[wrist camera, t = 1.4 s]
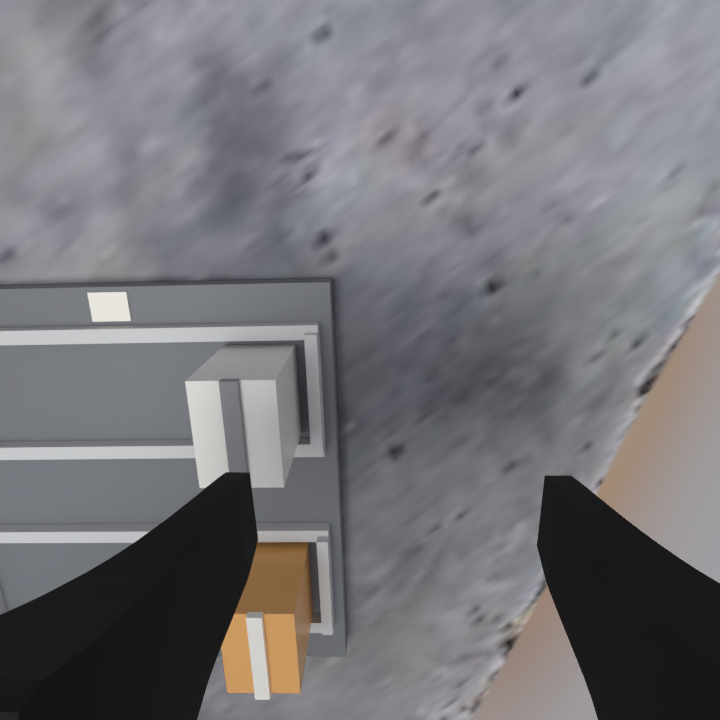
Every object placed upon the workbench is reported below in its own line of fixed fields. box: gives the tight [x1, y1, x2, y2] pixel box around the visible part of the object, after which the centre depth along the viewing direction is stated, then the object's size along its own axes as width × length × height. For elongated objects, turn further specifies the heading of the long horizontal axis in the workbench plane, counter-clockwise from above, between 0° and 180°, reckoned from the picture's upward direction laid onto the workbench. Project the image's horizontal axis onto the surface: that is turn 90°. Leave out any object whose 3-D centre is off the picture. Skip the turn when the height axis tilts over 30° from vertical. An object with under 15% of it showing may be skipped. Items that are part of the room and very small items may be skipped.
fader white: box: [185, 344, 301, 488], centre depth 19 cm, size 4×3×5 cm
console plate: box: [0, 278, 347, 656], centre depth 23 cm, size 19×22×2 cm
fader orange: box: [221, 542, 313, 700], centre depth 22 cm, size 4×3×5 cm
